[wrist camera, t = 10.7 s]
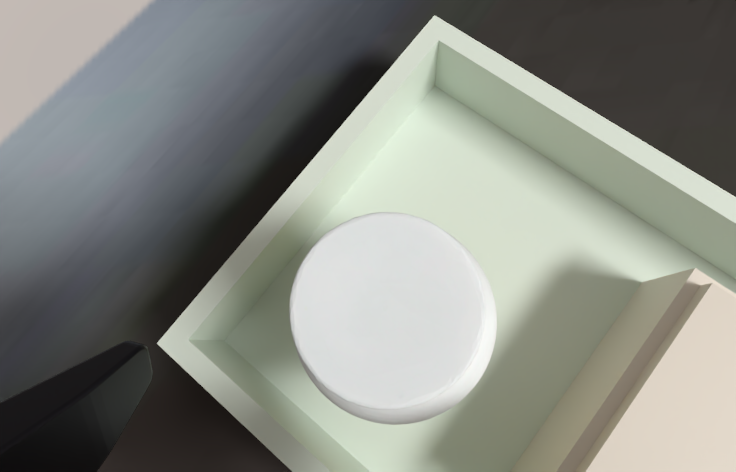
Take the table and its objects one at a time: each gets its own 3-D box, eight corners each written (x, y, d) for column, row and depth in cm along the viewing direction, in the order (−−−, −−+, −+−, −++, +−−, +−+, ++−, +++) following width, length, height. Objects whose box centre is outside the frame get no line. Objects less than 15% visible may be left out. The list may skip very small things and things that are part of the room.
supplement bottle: (474, 392, 18) (542, 450, 8) (336, 399, 18) (254, 460, 9) (460, 254, 19) (505, 170, 10) (331, 264, 19) (254, 191, 10)
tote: (905, 378, 17) (1050, 387, 13) (674, 771, 15) (765, 918, 11) (430, 73, 22) (434, 15, 18) (206, 343, 20) (156, 343, 16)
